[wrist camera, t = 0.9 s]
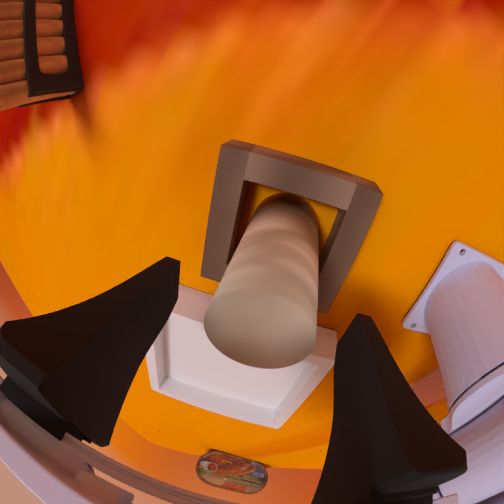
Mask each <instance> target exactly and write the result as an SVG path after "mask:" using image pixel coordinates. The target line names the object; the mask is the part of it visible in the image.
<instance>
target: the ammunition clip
mask: <svg viewBox="0 0 504 504" xmlns="http://www.w3.org/2000/svg"><path fill="white" fill-rule="evenodd" d="M83 88H84V83H83V78H82V73H81V67H80V61H79V55H78V48H77V41H76V33H75V23H74V12H73V0H0V111H2V110H5V109H9V108H12V107H16V106H17V107H18V108H19V107H23V106H28V105H34V104H39V103H45V102H51V101H58V100H66V99H70V98H71V97H73V96H74V95H76V94H77V93H79V92H80V91H82V90H83Z"/></svg>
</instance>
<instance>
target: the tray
mask: <svg viewBox="0 0 504 504" xmlns="http://www.w3.org/2000/svg"><path fill="white" fill-rule="evenodd" d="M213 296H214V295H211V294H208V293H205V292H202V291H199V290H196V289H193V288H190V287H187V286H184V285H181V284H179V293H178V300H177V302H176V304H175V307H174V309H173V311H172V313H171V315H170V317H169V319H168V321H167V322H166V324H165V325H164V327H163V329H162V330H161V332H160V333H159V335H158V337H157V338H156V340H155V341H154V343H153V344H152V346H151V348H150V349H149V351H148V352H147V354H146V360H147V366H148V372H149V377H150V383H151V388H152V390H155V391H157V392H159V393H162V394H164V395H167V396H169V397H172V398H174V399H177V400H180V401H182V402H185V403H188V404H191V405H193V406H196V407H199V408H202V409H205V410H208V411H211V412H214V413H218V414H221V415H224V416H228V417H231V418H235V419H238V420H242V421H246V422H250V423H253V424H258V425H262V426H266V427H271V428H275V429H279V428H280V427H281V426H282V425H283V424H284V423H285V422H286V421H287V419H288V418H289V417H290V416H291V415H292V414H293V413H294V412H295V411H296V410H297V409H298V407H299V406H300V405H301V404H302V403H303V402H304V401H305V399H306V398H307V397H308V396H309V395H310V394H311V393H312V391H313V390H314V389H315V388H316V387H317V385H318V384H319V383H320V382H321V381H322V379H323V378H324V377H325V376H326V374H327V373H328V372H329V371H330V369H331V368H332V367H333V365H334V362H335V354H336V346H337V331H335V330H331V329H327V328H323V327H319V326H317V331H316V343H315V346H314V348H313V350H312V352H311V353H310V354H309V355H308V356H307V357H306V358H305V359H304V360H302V361H301V362H299V363H297V364H294V365H292V366H288V367H284V368H278V369H263V368H255V367H251V366H247V365H244V364H241V363H238V362H236V361H234V360H232V359H230V358H228V357H227V356H225V355H224V354H222V353H221V352H220V351H219V350H218V349H216V348H215V347H214V345H213V344H212V343H211V342H210V340H209V339H208V337H207V335H206V333H205V329H204V316H205V313H206V311H207V309H208V307H209V305H210V302H211V300H212V298H213Z"/></svg>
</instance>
